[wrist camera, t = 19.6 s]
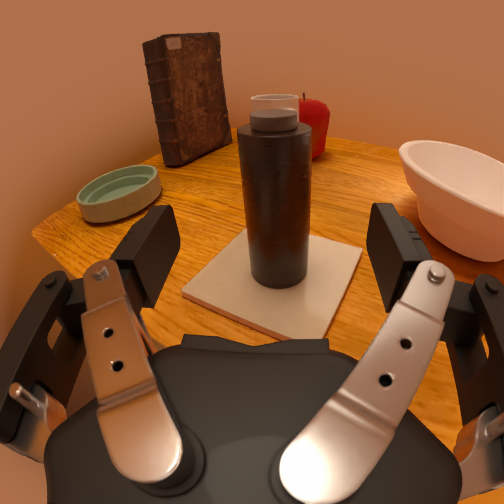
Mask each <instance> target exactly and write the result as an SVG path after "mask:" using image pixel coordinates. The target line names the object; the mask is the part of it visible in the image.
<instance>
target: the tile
mask: <svg viewBox="0 0 504 504" xmlns="http://www.w3.org/2000/svg"><path fill="white" fill-rule="evenodd" d="M362 250H363V249H361V248H358V247H354V246H351V245H347V244H344V243H340V242H337V241H333V240H329V239H326V238H322V237H318V236H315V235H311V234H309V251H308V267H307V274H306V276H305V278H304V279H303V280H302V281H301V282H300V283H299V284H297V285H295V286H293V287H290V288H285V289H272V288H268V287H265V286H262V285H260V284H259V283H258V282H256V281H255V279H254V278H253V276H252V274H251V267H250V257H249V247H248V238H247V228H245V229H244V230H243V231H242V232H240V233H239V234H238V235H237V236H236V237H235V238H234V239H233V240H232V241H231V242H230V243H229V244H228V245H227V246H226V247H225V248H224V249H223V250H222V251H220V252H219V253H218V254H217V255H216V256H215V257H214V258H213V259H212V260H211V261H210V262H209V263H208V264H207V265H206V266H205V267H204V268H203V269H202V270H201V271H200V272H199V273H198V274H197V275H195V276H194V277H193V278H192V279H191V280H190V281H189V282H188V283H187V284H186V285H185V286H184V287H183V288H182V289H181V293H182V296H183V297H185V298H187V299H189V300H191V301H193V302H195V303H197V304H200V305H202V306H204V307H206V308H208V309H210V310H212V311H215V312H217V313H219V314H221V315H223V316H226V317H228V318H230V319H232V320H234V321H237V322H239V323H241V324H244V325H246V326H248V327H251V328H253V329H255V330H258V331H260V332H262V333H265V334H267V335H269V336H272V337H274V338H277V339H279V340H282V341H285V340H290V339H324V337H325V335H326V333H327V331H328V329H329V327H330V325H331V323H332V321H333V319H334V317H335V314H336V312H337V310H338V308H339V306H340V304H341V302H342V299H343V297H344V295H345V293H346V291H347V288H348V286H349V284H350V281H351V279H352V277H353V275H354V272H355V270H356V267H357V265H358V263H359V260H360V258H361V255H362Z"/></svg>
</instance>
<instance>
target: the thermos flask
mask: <svg viewBox="0 0 504 504" xmlns="http://www.w3.org/2000/svg"><path fill="white" fill-rule="evenodd" d="M237 137H238V148H239V158H240V168H241V178H242V188H243V198H244V208H245V218H246V228H247V238H248V247H249V257H250V267H251V274H252V276H253V278H254V279H255V281H256V282H258V283H259V284H260V285H262V286H265V287H268V288H272V289H285V288H290V287H293V286H295V285H297V284H299V283H300V282H301V281H302V280H303V279H304V278H305V276H306V274H307V267H308V251H309V232H310V208H311V168H312V128H311V127H310V126H309V125H307V124H305V123H301V122H297V112H295V111H293V110H287V109H267V110H259V111H255V112H252V113H251V114H250V124H246V125H243V126H241V127H239V128H238V129H237Z"/></svg>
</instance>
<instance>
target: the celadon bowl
mask: <svg viewBox="0 0 504 504" xmlns="http://www.w3.org/2000/svg"><path fill="white" fill-rule="evenodd" d="M161 190H162V188H161V183H160V179H159V175H158V171H157V168H156V167H154V166H151V165H134V166H129V167H124V168H121V169H117V170H115V171H111V172H109V173H107V174H104V175H102V176H100V177H98V178H97V179H95V180H93V181H91V182H90V183H88V184H87V185H86V186H85V187H83V188H82V189H81V191H80V192H79V193H78V194H77V197H76V201H77V203H78V206H79V209H80V211H81V214H82V216H83V218H84V220H86V221H89V222H91V223H106V222H113V221H117V220H120V219H123V218H126V217H129V216H131V215H133V214H135V213H137V212H139V211H141V210H142V209H144V208H145V207H147V206H148V205H149V204H150V203H152V202H153V201H154V200H155V199H156V198H157V197H158V196H159V195H160V192H161Z"/></svg>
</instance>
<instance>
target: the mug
mask: <svg viewBox="0 0 504 504" xmlns="http://www.w3.org/2000/svg"><path fill="white" fill-rule="evenodd" d="M298 98H299V97H298V96H296V95H290V94H267V95H259V96H254V97H251V104H252V112H255V111H259V110H267V109H287V110H293V111H295V112H297V122H299V100H298Z"/></svg>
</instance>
